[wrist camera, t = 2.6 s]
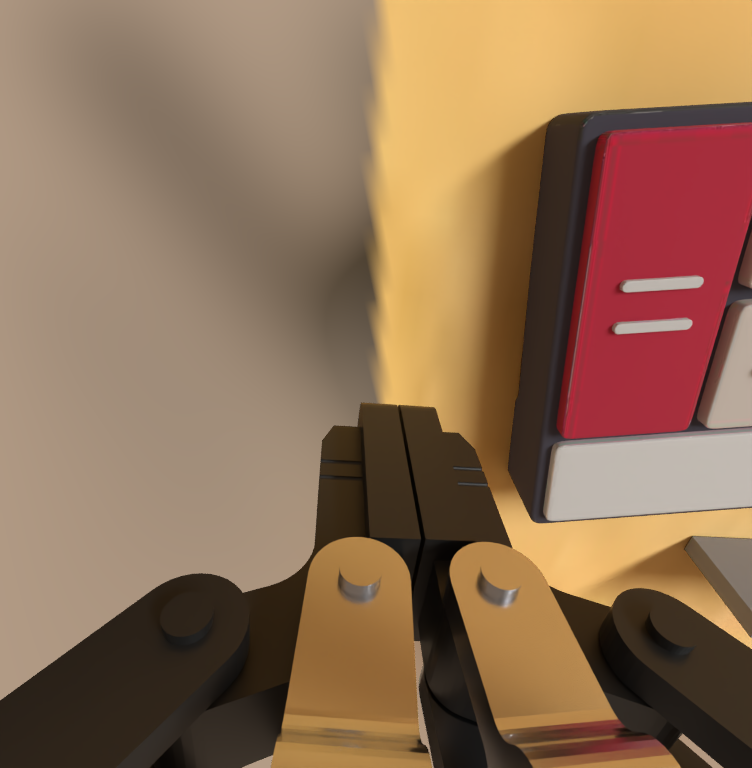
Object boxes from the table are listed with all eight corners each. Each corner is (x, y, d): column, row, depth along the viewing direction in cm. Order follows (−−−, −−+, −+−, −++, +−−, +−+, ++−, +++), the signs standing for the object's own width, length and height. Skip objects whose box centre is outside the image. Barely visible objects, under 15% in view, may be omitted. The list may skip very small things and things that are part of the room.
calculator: (1009, 86, 13) (805, 519, 20) (856, 96, 17) (730, 456, 23) (594, 110, 12) (536, 540, 19) (537, 115, 16) (505, 473, 23)
